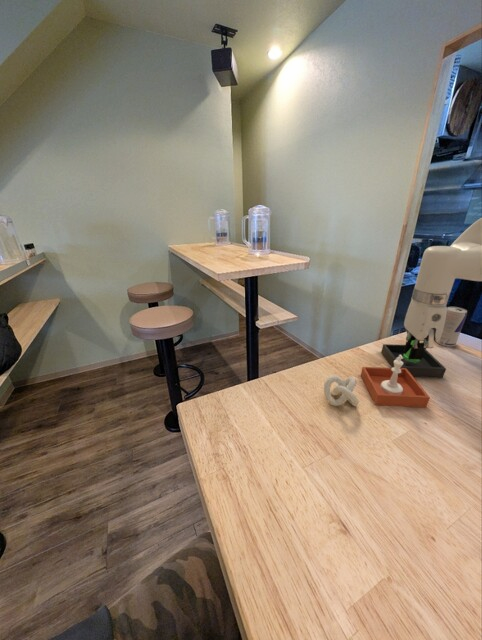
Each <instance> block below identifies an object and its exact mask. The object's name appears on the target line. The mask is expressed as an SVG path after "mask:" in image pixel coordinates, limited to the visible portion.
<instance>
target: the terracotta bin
mask: <svg viewBox="0 0 482 640" xmlns="http://www.w3.org/2000/svg"><path fill="white" fill-rule="evenodd" d="M391 369H392V367H385V366H384V367H381V366H380V367H379V366H362V367H361V371H360V377H361V379H362V381H363V383H364V385H365V387H366V389H367V391H368V393H369V395H370V397H371V399H372V401H373V403H374V404H375V406H390V407H408V408H427V407H428V405H429V401H430V399H431V397H430V396H429V395H428V393H427V392H426V391H425V390H424V388H423V387H422V386H421V384H420V383H419V382H418V381H417V379H416V377H413V376H412V375H411V373H410V372H409V371H408V370H407V368H400V370H401V373H398V377H397V383H398V384H400V385H401V386H402V388H403V392H402V394H400V395H399V394H389V393H387V392H385V391H384V390H382V388H381V386H380V385H381V383H382V382H383V381H385V380H390V379H391V376H392V374H393V371H392V370H391Z"/></svg>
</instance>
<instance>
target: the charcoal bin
mask: <svg viewBox="0 0 482 640" xmlns="http://www.w3.org/2000/svg"><path fill="white" fill-rule="evenodd" d="M405 345H406V344H388V343H387V344H386V343H383V344H382V346H381V351H380V353H381V354H382V356H383V357H384V359H386V361H387V363H388V364H389V365H390V368H393V367H394V360H396V358H397V357H399V355H402V357H403V355H404V353H403V352H404V348H405ZM401 361H402V362H403V365H402V366H401V367H400V368H407V370H408V371H409V372H410V373H411V375H412V376H413V377H414V378H434V379H436V378H437V379H443V378H444V376H445V373H446V370H447V368H446V367H445V366H444V365H443V364H442V363H441V362H440V361H439V360H438V359H437V358H436V357H434V355H432V353H430V352H429V351H428V349H427V348H426V349H425V350H424V353H423V356H422V359H421V360H420V362H416V363H415V362H410V361H407V360H406V359H404V357H403V359H401Z"/></svg>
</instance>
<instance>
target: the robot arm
mask: <svg viewBox="0 0 482 640" xmlns="http://www.w3.org/2000/svg"><path fill="white" fill-rule="evenodd" d="M456 279H460V280H467V281H474V282H482V217H480V218H479V219H477V220H475V221H474V222H473V223H472V224H471V225H470V226H468V227H467V228H466V229H465V230H464V231H463V232H462V233H461V234H460V235H459V236H458V237H457V238H456V239H455V240H454V241H453V242H452V243H451V245H449V246H448V245H432V246H429V247H427V248H426V249H425V250H424V252H423V254H422V258H421V261H420V265H419V269H418V273H417V276H416V280H415V284H414V288H413V291H412V294H411V295H412V296H411V299H410V303H409V305H408V307H407V310H406V314H405V316H404V322H403V327H404V328H405V330H406V337H405V340H406V341H405V344H404V345H405V348H404V352H403V353H405V354H406V353H407V352H408V351H409V349H410V348H411V350H410V354H409V357H408V358H409V360H410V359H420V360H421V359H422V356H423V353H424V350H425V349H426V350H427V349H434V343H437V342H439V341H440V338H441V335H442V332H443V328H444V324H445V319H446V312H447V304H448V301H449V298H450V295H451V292H452V289H453V286H454V283H455V280H456ZM412 340H415V342H414V347H412V345H411V341H412ZM419 342H420V343H419Z"/></svg>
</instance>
